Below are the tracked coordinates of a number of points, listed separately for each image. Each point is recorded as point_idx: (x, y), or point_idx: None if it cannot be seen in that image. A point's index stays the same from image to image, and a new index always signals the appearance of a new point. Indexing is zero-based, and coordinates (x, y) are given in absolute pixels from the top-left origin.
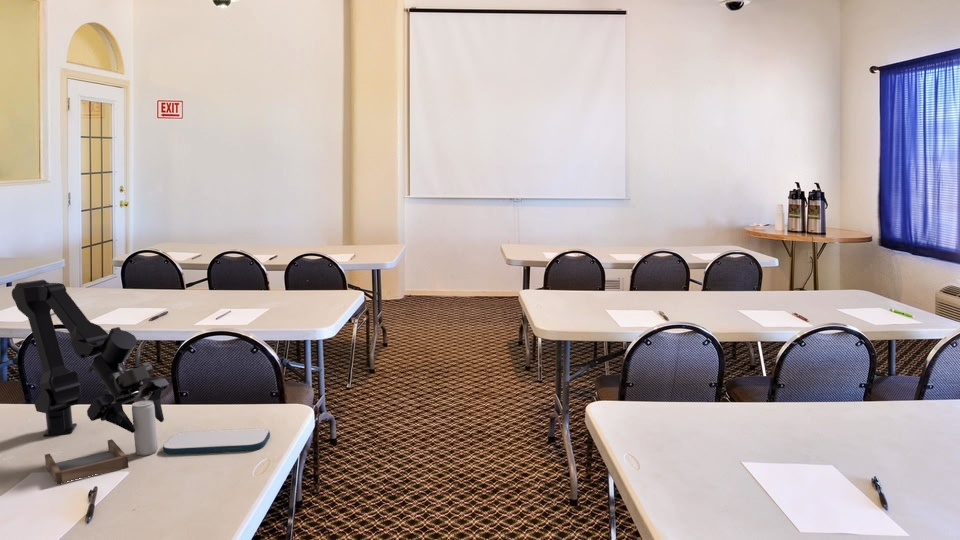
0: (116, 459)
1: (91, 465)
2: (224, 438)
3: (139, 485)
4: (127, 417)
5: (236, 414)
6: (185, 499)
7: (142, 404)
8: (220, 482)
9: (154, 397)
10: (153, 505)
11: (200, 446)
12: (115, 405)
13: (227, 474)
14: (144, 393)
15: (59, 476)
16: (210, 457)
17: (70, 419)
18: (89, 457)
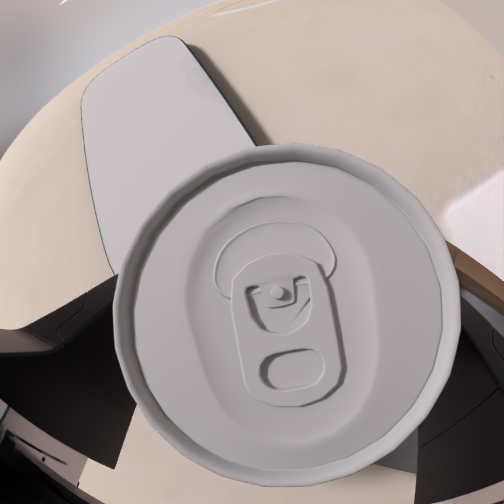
0: (473, 259)
1: None
2: (146, 104)
3: (462, 120)
4: (469, 331)
5: (4, 270)
6: (421, 27)
7: (326, 291)
8: (344, 10)
9: (34, 353)
10: (466, 57)
11: (221, 106)
12: None
13: (311, 14)
14: (46, 492)
15: None
16: (248, 78)
17: None
18: (406, 449)
